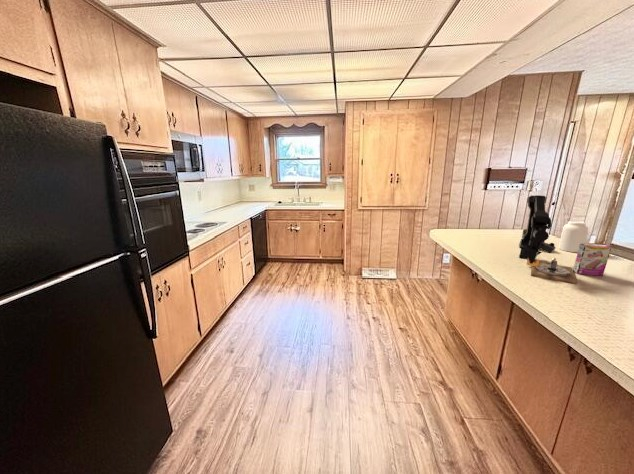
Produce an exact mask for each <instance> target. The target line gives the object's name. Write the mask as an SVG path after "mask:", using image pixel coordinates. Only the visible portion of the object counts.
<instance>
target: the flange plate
mask: <svg viewBox="0 0 634 474" xmlns="http://www.w3.org/2000/svg"><path fill="white" fill-rule="evenodd" d="M541 263H542V260H541V259H538V258H535V260H534V262H533V264H531V263H530V262H529V259H527V261H526V265H527V266H530V267H531V266H533V267H536V269H538V270H539V271H540V272H543V273H547V274H550V275H556V276H567V275H569V274H570V272H569V271H568V270H566V269H565V268H561V267H557V266H558V265H557V266H556V270H555V271H554V270H550V266H551V265H540V264H541Z"/></svg>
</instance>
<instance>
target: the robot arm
mask: <svg viewBox="0 0 634 474" xmlns="http://www.w3.org/2000/svg"><path fill="white" fill-rule="evenodd" d="M526 203H527V207H528V209H529V215H528V220H527V226H526V229H527V232H526V234H525V235H524V236H523V237H522V236H521V239H520V240H519V245H518V248H519V249H520V253H519V256H518V257H519V258H521V259H527V260H528V259H529V262H530V263H531V264H533V262H534V260H535V259H537V256H539V255H540V254H542V253H543V252H542V251H545V252H546V253H547V254H552V253H554V251H555V249H556V246H555V245H556V244H555V243H553V242H550V243H548V242H545V241H547V240H548V239H549V237H550V234H549V233H548V232H547V230H550V229H551V228H552V219H551V217H550V214H549V213H548V212H547V211H546V207H545V206H546V203H547V196H546V195H530V196H528V197H527V199H526ZM541 250H542V251H541Z"/></svg>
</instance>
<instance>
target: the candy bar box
mask: <svg viewBox="0 0 634 474" xmlns="http://www.w3.org/2000/svg"><path fill="white" fill-rule="evenodd" d="M611 251H612V247H610V246H608V245H606V244H594V243H585V244H583V243H580V246H579V249H578V252H576V253H577V254H576V256H575V261H574V264H573V268H572V270H573V273H574V274H577V275H587V276H595V277H596V276H598V277H603V276H604V273H605V270H606V266H607V263H608V260H609V257H610V254H611Z"/></svg>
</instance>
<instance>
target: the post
mask: <svg viewBox="0 0 634 474" xmlns="http://www.w3.org/2000/svg"><path fill="white" fill-rule="evenodd" d="M550 264H551V266H550V270H554V271H555V270H556V266H558V265H557V264H558V261H557V260H556V261H554V260H552V259H551V262H550Z"/></svg>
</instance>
